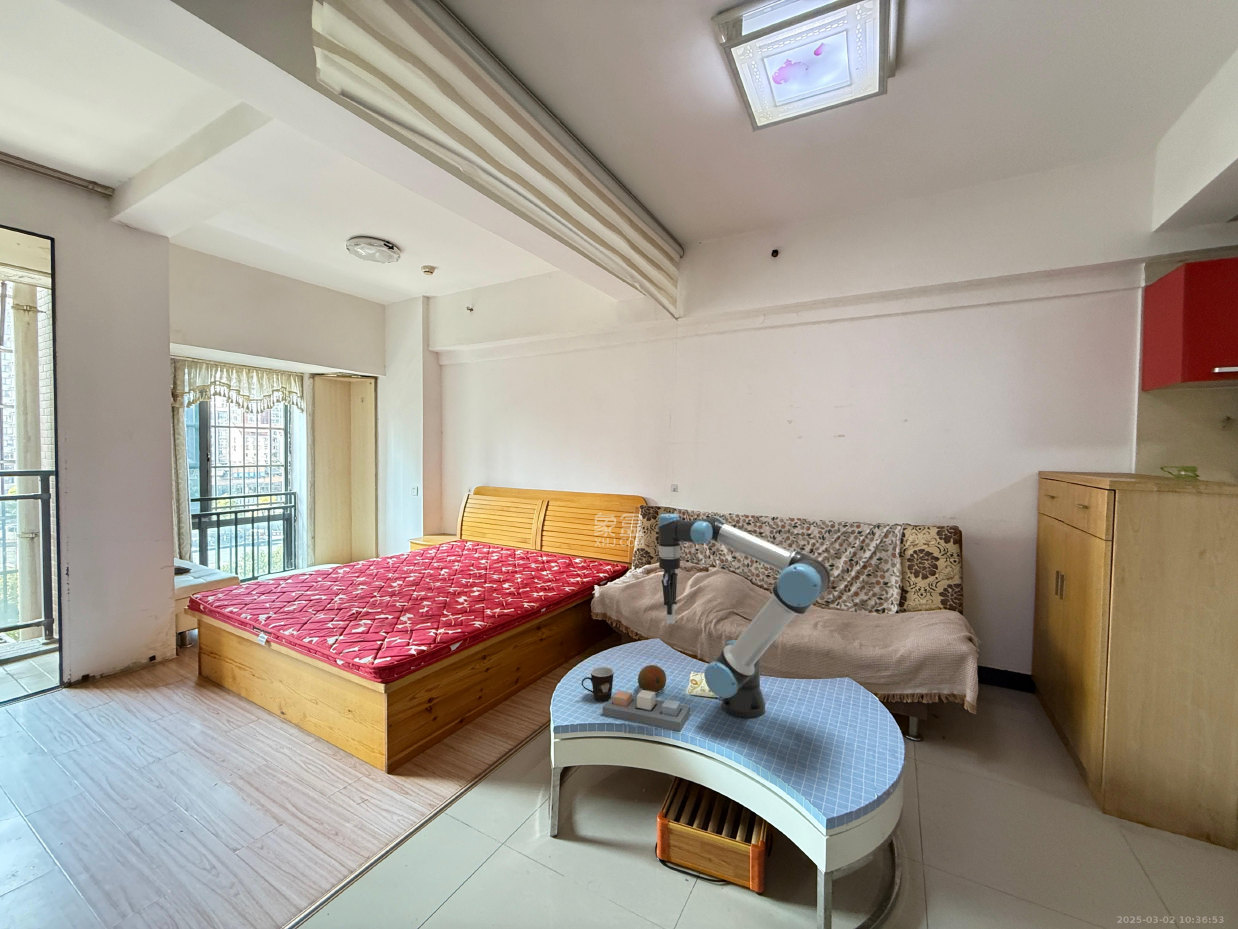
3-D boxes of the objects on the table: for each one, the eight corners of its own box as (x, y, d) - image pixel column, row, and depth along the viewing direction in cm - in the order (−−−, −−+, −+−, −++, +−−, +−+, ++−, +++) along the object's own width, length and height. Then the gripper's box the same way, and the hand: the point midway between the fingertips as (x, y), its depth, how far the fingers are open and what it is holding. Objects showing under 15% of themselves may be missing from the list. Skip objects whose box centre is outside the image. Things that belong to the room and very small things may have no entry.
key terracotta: (631, 704, 180) (631, 692, 180) (626, 710, 175) (626, 699, 175) (619, 701, 182) (618, 690, 182) (613, 707, 177) (613, 696, 177)
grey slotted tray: (690, 714, 175) (690, 706, 175) (680, 731, 164) (680, 722, 164) (616, 700, 186) (616, 692, 186) (602, 715, 175) (602, 706, 175)
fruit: (644, 701, 185) (644, 674, 185) (630, 687, 197) (629, 661, 197) (672, 694, 190) (672, 668, 190) (656, 681, 201) (656, 656, 201)
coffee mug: (615, 693, 192) (614, 667, 192) (612, 704, 183) (612, 676, 183) (585, 692, 193) (584, 666, 193) (581, 703, 184) (580, 676, 184)
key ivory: (655, 703, 176) (655, 692, 176) (650, 710, 171) (650, 698, 171) (642, 701, 178) (642, 689, 178) (636, 707, 174) (636, 695, 174)
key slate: (680, 713, 172) (680, 702, 172) (676, 720, 168) (675, 708, 168) (666, 710, 174) (666, 699, 174) (661, 717, 170) (661, 705, 170)
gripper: (664, 553, 188) (665, 616, 188) (653, 559, 176) (655, 627, 176) (684, 554, 186) (685, 618, 186) (674, 561, 174) (676, 629, 173)
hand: (670, 622), depth 181 cm, fingers closed
